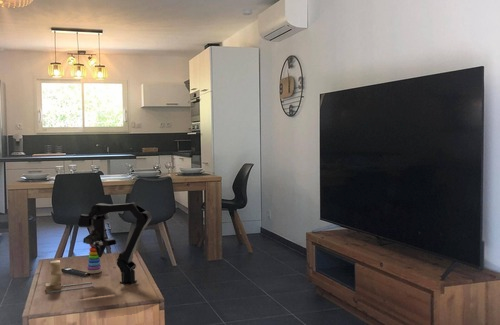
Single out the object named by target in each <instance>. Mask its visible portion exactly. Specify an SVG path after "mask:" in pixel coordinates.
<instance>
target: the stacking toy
mask: <svg viewBox="0 0 500 325" xmlns="http://www.w3.org/2000/svg"><path fill="white" fill-rule="evenodd" d="M89 247H90V248H89V252H88V254H89V255H88V259H87V261H88V262H87V266H86V268H87V269H86V272H87V273H88V274H99V273H101V272H102V265H101V264H102V263H101V257H98V254H97V251H96V249H95V247H94V246H92V245H91V244H89Z"/></svg>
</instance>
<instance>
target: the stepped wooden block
mask: <svg viewBox="0 0 500 325" xmlns="http://www.w3.org/2000/svg"><path fill="white" fill-rule="evenodd" d="M49 264H50V265H49V266H50V267H49V268H50V270H49V271H50V282H46V283H45V293H47V292H48V291H56V290H62V287H61V286H62V271H61V269H62V268H61V266H62V265H61V260H60V259H58V260H50V261H49Z"/></svg>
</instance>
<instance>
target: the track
mask: <svg viewBox="0 0 500 325" xmlns="http://www.w3.org/2000/svg"><path fill="white" fill-rule="evenodd" d="M90 284H93V283H92V281H89V282H83V283H72V284H65V285H61V288H64V289H61V290H56V291H48V292H46V294H51V293H57V292H65V291H67V292H68V291H74V290H81V289H82V290H83V289H89V288H94V285H90ZM83 285H88V286H83ZM75 286H80V287H75ZM66 287H71V288H66ZM73 287H74V288H73ZM65 288H66V289H65Z"/></svg>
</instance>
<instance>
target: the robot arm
mask: <svg viewBox="0 0 500 325" xmlns="http://www.w3.org/2000/svg"><path fill="white" fill-rule="evenodd" d="M128 211H129V212H130V213H131V214H132V216H133V217H134V218H136V221H135V228H134V230H133V233H132V234H131V236H130V239H129V242H128V243H127V246H126V247H125V250H123V251H122V252H119V254H118V257H117V259H116V265H117V267H118V268H119V270H120V273H121V276H120V278H121V281H119V283H120V284H125V285H131V284H133V283H137V282H138V280H137V279H136V271H135V269H136V268H137V264H136V263H135V262H134V261H133V259H134V252H135V251H136V250H135V249H136V247H137V245H138V243H139V240H140V239H141V236H142V234H143V231H144V230H145V229H146V227H147V226H148V225H149V223H150V222H151V221H152V218H153V216H152V213H151V212H150V211H149V210H148V211H147V210H146V209H145V208H143V207H142V206H140V205H138V204H137V203H136V202H130V203H116V204H109V203H103V202H101V203H97V204H93V205H92V207H91V209H90V212H89V213H88V214H80V215H79V219H78V221H77V224H78V227H79V228H85V229H86V228H90V229H91V228H93V229H92V230H91V233H89V234H88V235H87V236H85V237H84V238H83V240H82V242H83V244H86V245H90V244H91V245H92V246H94V247H95V249H96V251H97V254H98V257H99V258H102V256H103V255H104V252H105V250H106V248H107V247H111V246H114V245H116V244H117V240H116V238H112V237H111V238H108V237H107V236H106V232H107V231H108V230H107V228H106V226H105V225H106V222H105V221H106V220H108V219H109V218H110V217H109V216H107V214H108V213H115V212H117V213H118V212H128Z"/></svg>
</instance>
